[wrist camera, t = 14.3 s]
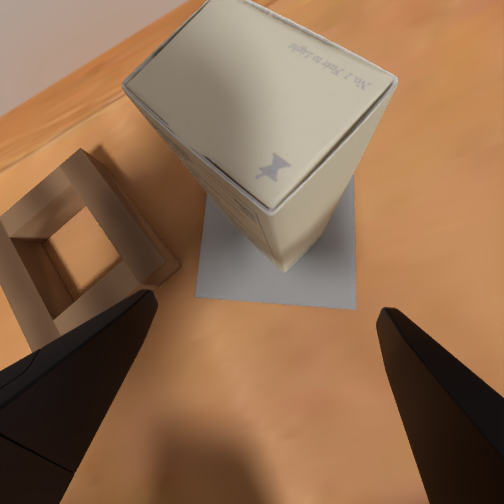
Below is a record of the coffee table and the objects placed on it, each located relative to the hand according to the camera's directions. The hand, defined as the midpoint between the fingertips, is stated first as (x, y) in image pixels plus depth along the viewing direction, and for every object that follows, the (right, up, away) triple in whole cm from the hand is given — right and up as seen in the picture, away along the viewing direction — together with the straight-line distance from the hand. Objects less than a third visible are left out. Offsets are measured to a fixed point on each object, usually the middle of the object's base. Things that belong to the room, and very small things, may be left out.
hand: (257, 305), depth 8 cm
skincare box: (+1, +4, +9) cm, 10 cm away
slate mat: (+2, +4, +9) cm, 10 cm away
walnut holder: (-15, +2, +11) cm, 19 cm away
